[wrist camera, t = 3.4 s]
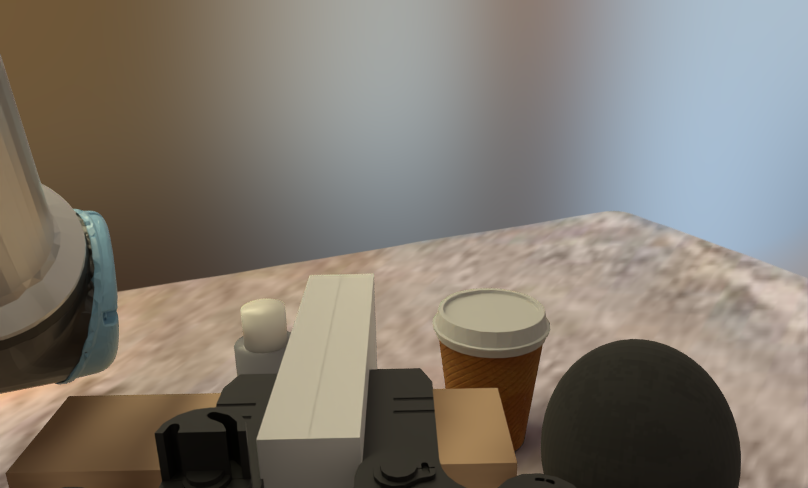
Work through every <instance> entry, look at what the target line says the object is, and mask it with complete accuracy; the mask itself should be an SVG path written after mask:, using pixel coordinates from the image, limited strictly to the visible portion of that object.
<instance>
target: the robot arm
mask: <svg viewBox="0 0 808 488" xmlns="http://www.w3.org/2000/svg"><path fill="white" fill-rule="evenodd" d="M116 310H117V285H116V274H115V266H114V258H113V251H112V246H111V240H110V235H109V231H108V227H107V224H106V223H105V220H104V219H103V218H102V216H101V215H100V214H98V213H97V212H94V211H82V210H78V209H72V208H71V206H70V205H69V204H68V202H66V201H65V200H64V199H63V198H62V197H61V196H60V195H58V194H57V193H56V192H54V191H53V190H51V189H50V188H48V187H46V186H44V185H43V184H41V182H40V179H39V176H38V173H37V170H36V166H35V163H34V160H33V157H32V154H31V151H30V147H29V144H28V141H27V138H26V135H25V131H24V128H23V125H22V122H21V119H20V116H19V112H18V109H17V106H16V103H15V99H14V96H13V93H12V90H11V87H10V84H9V80H8V77H7V74H6V71H5V68H4V64H3V61H2V58H1V55H0V394H2V393H7V392H12V391H17V390H22V389H27V388H32V387H37V386H42V385H47V384H52V383H55V384H60V385H61V384H67V383H68V382H69V383H70V382H72V381H74V380H75V379H76V378H79V377H83V376H87V375H91V374H96V373H99V372H101V371H104V370H105V369H107V368H108V367H109V366H110V365H111V364H112V362H113V361H114V359H115V357H116V354H117V350H118V340H119V321H118V314H117V312H116ZM154 434H155V440H156V447H157V453H158V459H159V466H160V472H161V478H162V482H161V484H160V486H159V488H466V487H464V486H462V485H460V484H458V483H456V482H455V481H454V480H452V479H451V478H450V477H449V476H447V474H446V473H445V472H444V470H443V469H442V467H441V464H440V460H439V450H438V440H437V429H436V419H435V408H434V398H433V387H432V381H431V380H430V379H429V378H428V377H427V375H426V374H425V373H424V372H423V371H422V370H421V369H420V368H413V369H377V346H376V318H375V291H374V274H338V275H310V276H309V279H308V282H307V285H306V288H305V291H304V295H303V298H302V301H301V304H300V307H299V310H298V313H297V316H296V319H295V322H294V325H293V328H292V331H291V335H290V338H289V341H288V344H287V347H286V350H285V353H284V356H283V359H282V362H281V365H280V368H279V371H278V373H276V374H240V375H239V376H238V377H236V378H235V379H234V380H233V381H232V382H230V383H229V384H228V385H227V386H225V387H224V388H223V390H222V392H221V395H220V397H219V399H218V401H217V403H216V407H215V408H213V407H210V408H202V409H194V410H191V411H188V412H185V413H182V414H179V415H177V416H175V417H173V418H171V419H170V420H168V421H166V422H165V423H163V424H162V425H161V426H160V428H159V429H158V430H157V431H156V432H155V433H154ZM62 488H84V487H62ZM498 488H576V487H575V486H574V485H573V484H571V483H569V482H567V481H565V480H563V479H560V478H558V477H555V476H550V475H545V474H540V473H539V474H521V475H519V476H516V477H513V478H510V479H507V480H506V481H505V482H504V483H502V484H501V485H500V486H499V487H498Z"/></svg>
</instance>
